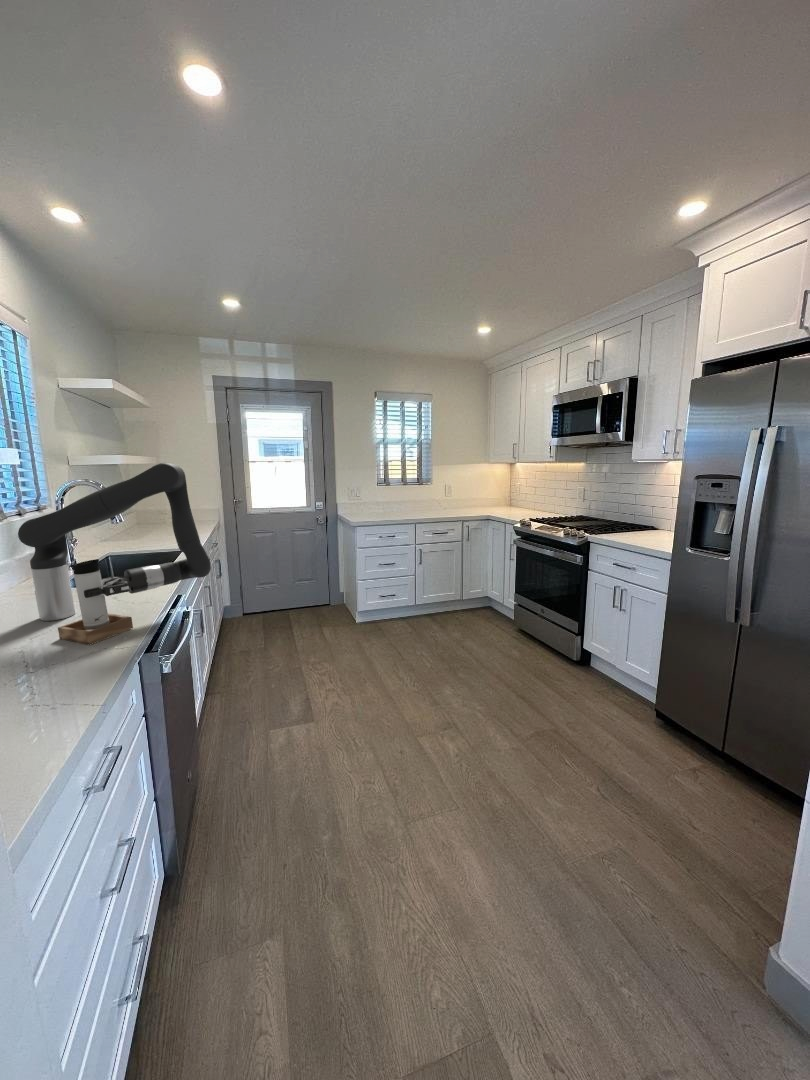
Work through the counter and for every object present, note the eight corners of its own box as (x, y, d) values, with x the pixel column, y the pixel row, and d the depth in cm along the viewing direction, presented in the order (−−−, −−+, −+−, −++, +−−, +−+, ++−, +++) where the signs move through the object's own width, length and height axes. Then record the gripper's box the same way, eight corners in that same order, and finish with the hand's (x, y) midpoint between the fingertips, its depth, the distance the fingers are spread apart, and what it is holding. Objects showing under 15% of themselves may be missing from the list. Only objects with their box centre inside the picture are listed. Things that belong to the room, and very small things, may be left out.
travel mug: (104, 628, 129) (91, 562, 125) (79, 630, 128) (66, 563, 124) (114, 620, 135) (103, 557, 131) (91, 622, 134) (79, 558, 130)
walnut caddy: (59, 639, 128) (57, 627, 127) (104, 623, 140) (102, 612, 139) (89, 644, 123) (87, 632, 123) (133, 627, 135) (131, 617, 135)
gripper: (134, 564, 144) (72, 575, 131) (151, 570, 134) (85, 583, 122) (138, 586, 145) (76, 600, 133) (154, 594, 136) (90, 609, 124)
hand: (81, 592), depth 128 cm, fingers closed on travel mug, 6 cm apart
